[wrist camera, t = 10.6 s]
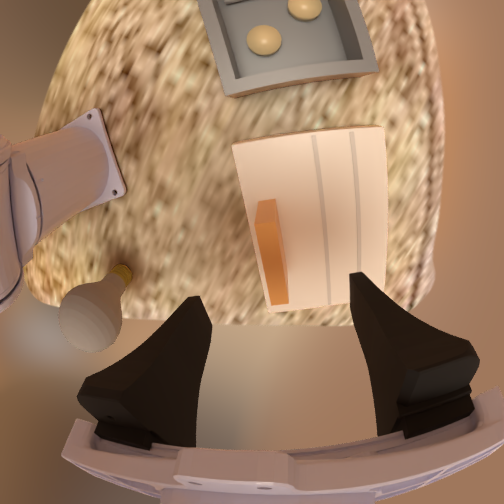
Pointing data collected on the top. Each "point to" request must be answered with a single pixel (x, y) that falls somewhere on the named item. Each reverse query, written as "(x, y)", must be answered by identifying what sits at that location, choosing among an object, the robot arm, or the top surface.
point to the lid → (316, 212)
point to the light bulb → (94, 311)
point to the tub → (286, 42)
